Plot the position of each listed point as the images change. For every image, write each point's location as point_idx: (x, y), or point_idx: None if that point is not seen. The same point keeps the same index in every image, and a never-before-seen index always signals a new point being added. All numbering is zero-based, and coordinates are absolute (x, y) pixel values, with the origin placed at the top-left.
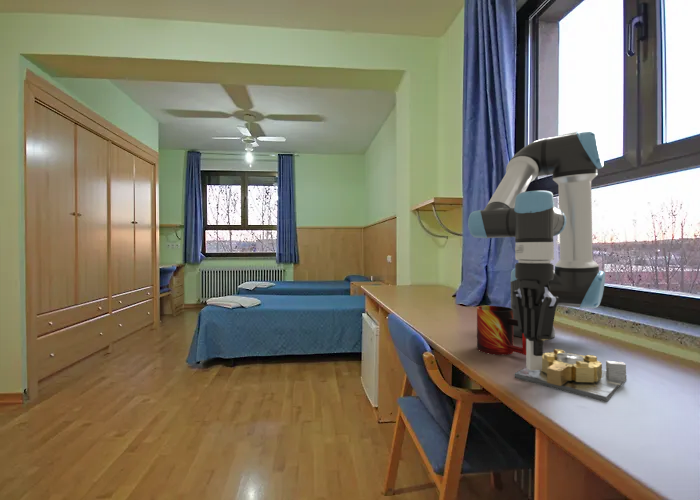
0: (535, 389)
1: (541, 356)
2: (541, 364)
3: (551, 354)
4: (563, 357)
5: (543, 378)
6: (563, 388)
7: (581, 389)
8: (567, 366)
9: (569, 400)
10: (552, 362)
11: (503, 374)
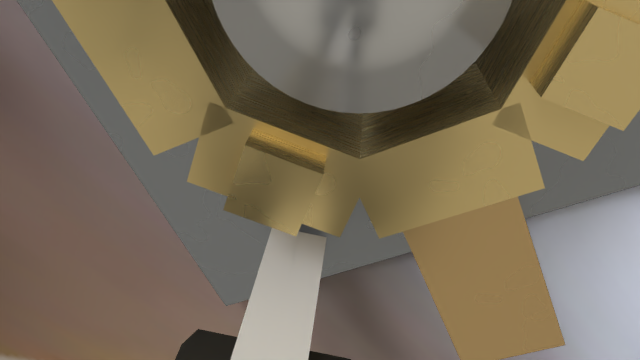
0: (419, 314)
1: (313, 318)
2: (320, 268)
3: (135, 5)
4: (370, 97)
5: (362, 226)
6: None
7: (629, 170)
8: (518, 206)
9: (617, 282)
10: (354, 204)
11: (169, 299)
